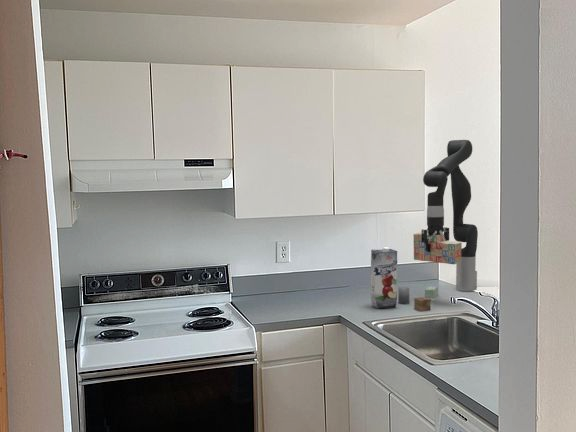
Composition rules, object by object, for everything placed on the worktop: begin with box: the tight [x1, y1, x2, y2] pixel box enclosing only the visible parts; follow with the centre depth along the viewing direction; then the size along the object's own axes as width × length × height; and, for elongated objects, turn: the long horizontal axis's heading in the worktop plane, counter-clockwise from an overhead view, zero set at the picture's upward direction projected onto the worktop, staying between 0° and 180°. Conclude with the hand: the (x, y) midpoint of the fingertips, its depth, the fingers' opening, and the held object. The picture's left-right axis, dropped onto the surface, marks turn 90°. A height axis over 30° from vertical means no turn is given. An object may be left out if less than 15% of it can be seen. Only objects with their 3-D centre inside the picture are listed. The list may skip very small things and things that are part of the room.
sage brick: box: [424, 286, 439, 299], centre depth 289 cm, size 8×4×4 cm, turn 151°
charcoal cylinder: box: [397, 286, 410, 305], centre depth 275 cm, size 5×5×7 cm
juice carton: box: [370, 246, 398, 310], centre depth 268 cm, size 9×10×27 cm
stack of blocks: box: [412, 232, 463, 265], centre depth 273 cm, size 21×6×12 cm, turn 44°
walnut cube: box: [413, 296, 432, 313], centre depth 263 cm, size 5×5×5 cm
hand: (435, 251), depth 274 cm, fingers closed on stack of blocks, 7 cm apart
